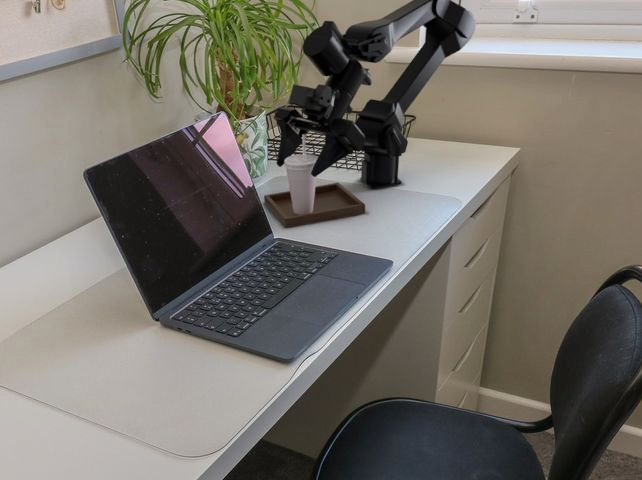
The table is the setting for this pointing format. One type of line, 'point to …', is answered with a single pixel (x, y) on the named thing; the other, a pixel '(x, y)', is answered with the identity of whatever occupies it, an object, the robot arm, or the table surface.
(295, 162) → the smoothie
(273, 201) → the tray
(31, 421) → the table surface
